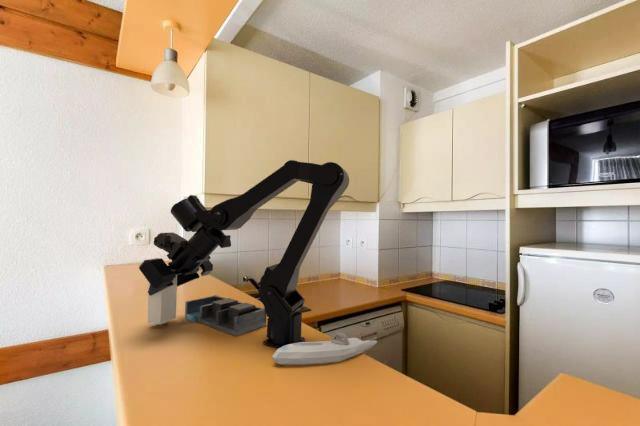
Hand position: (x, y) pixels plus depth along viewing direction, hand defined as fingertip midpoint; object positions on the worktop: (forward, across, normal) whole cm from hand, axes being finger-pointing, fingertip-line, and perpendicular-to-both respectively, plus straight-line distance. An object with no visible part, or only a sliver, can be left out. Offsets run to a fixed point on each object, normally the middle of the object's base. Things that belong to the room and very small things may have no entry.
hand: (158, 291), depth 74 cm
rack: (-4, -8, +15) cm, 17 cm away
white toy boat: (-24, +2, +36) cm, 43 cm away
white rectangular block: (+4, 0, +6) cm, 7 cm away
